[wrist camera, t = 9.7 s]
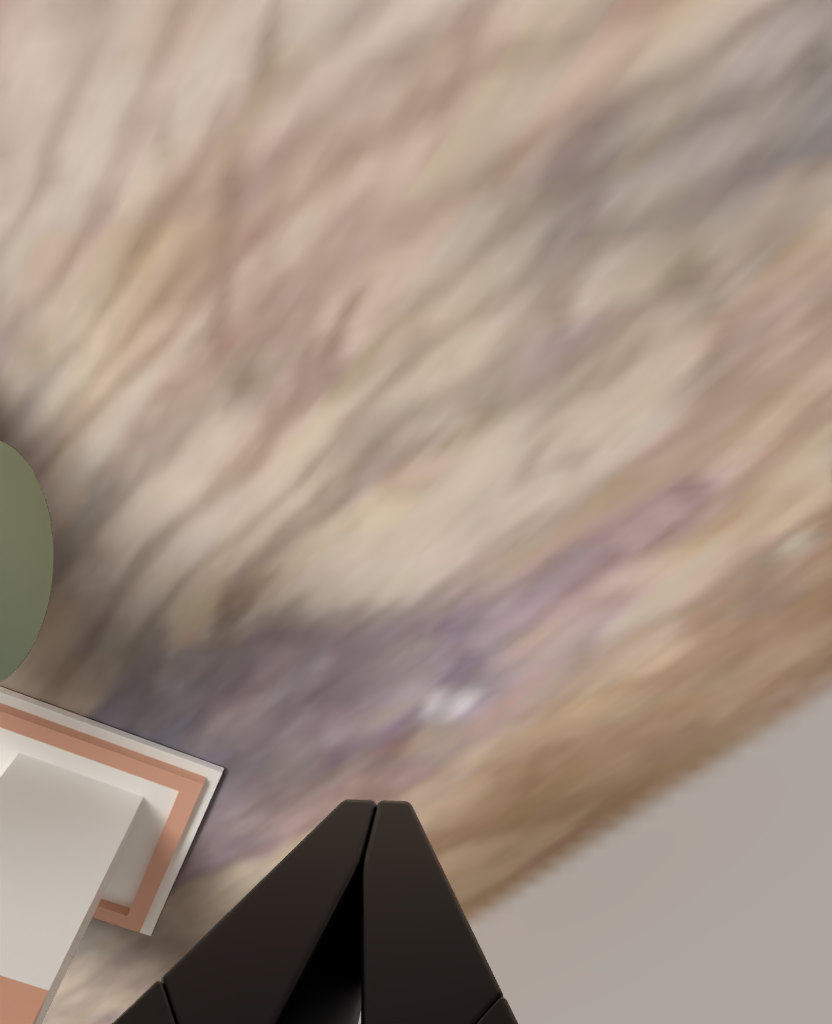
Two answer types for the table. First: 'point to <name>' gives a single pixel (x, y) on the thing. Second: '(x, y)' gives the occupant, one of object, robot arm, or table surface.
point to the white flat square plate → (132, 767)
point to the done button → (22, 559)
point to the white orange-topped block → (51, 874)
